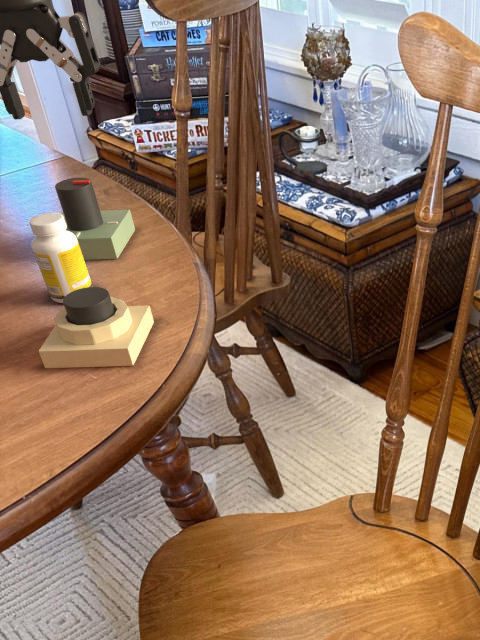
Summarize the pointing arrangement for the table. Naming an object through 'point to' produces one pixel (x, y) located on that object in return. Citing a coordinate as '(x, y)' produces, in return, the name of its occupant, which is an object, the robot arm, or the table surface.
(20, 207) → the table surface
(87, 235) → the dial panel
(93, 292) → the button
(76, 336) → the button base
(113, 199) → the table surface
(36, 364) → the table surface
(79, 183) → the dial
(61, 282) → the supplement bottle
